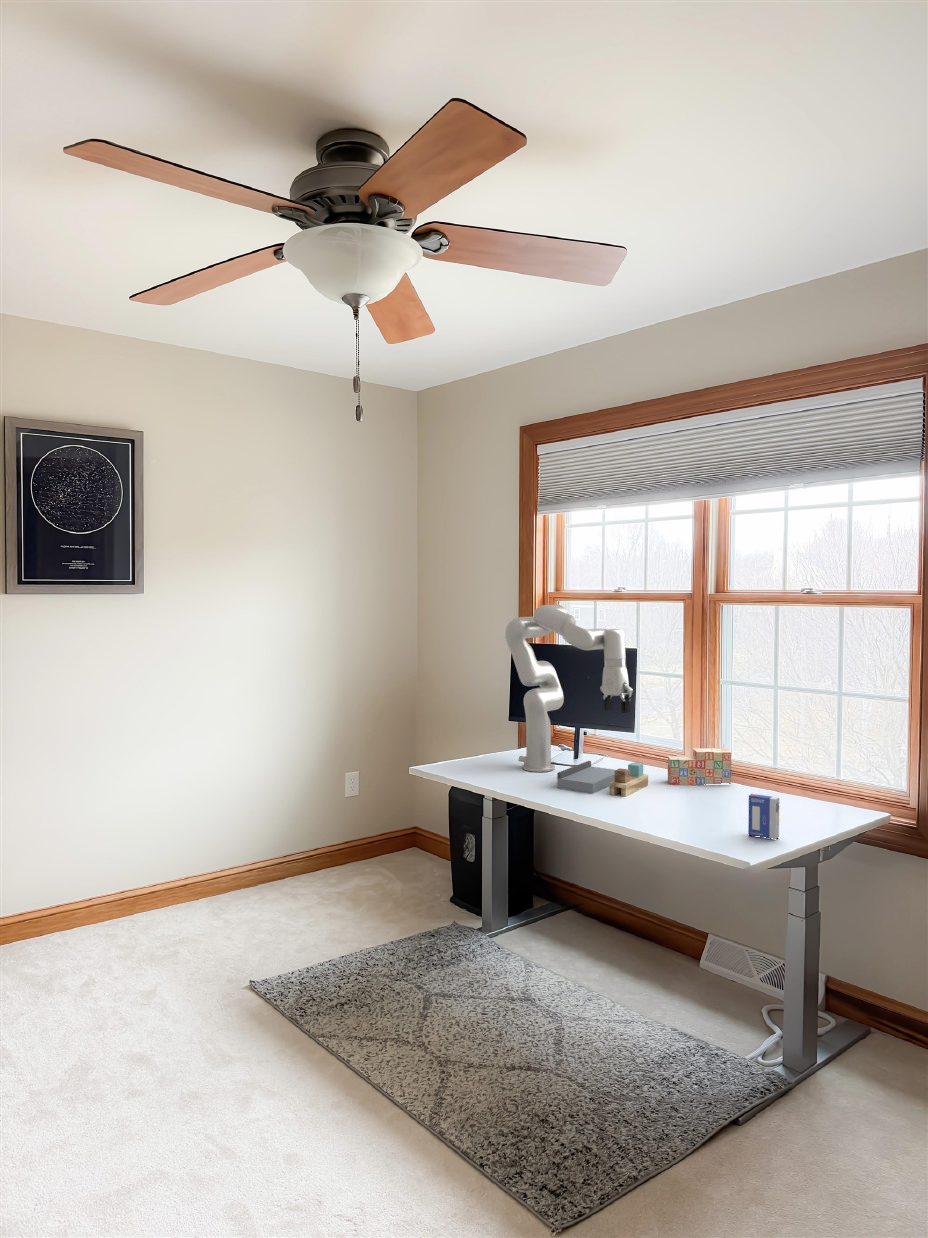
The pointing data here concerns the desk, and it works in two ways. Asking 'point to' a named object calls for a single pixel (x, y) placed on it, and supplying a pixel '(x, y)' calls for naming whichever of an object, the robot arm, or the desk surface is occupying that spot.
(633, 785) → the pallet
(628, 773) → the brown wooden cube
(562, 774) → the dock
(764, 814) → the walkman
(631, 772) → the teal cube
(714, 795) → the desk surface
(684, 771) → the stack of blocks
